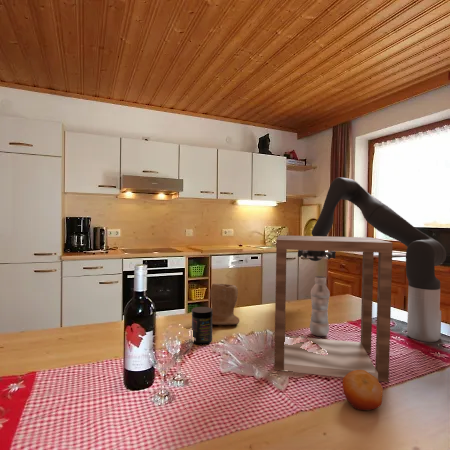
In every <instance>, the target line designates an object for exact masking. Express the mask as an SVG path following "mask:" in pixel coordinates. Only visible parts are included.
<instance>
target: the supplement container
mask: <svg viewBox="0 0 450 450" xmlns="http://www.w3.org/2000/svg"><path fill="white" fill-rule="evenodd" d="M212 320H213V309H212V307H210V306H209V307H208V306H196V307H193V308H192V309H191V331H192V330H193V337H194V343H193V344H194V345H196V346H206V345H210V344H211V343H212V342H213V325H212Z"/></svg>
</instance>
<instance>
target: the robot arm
mask: <svg viewBox="0 0 450 450" xmlns="http://www.w3.org/2000/svg"><path fill="white" fill-rule="evenodd" d="M341 200H345V201H348V202H350V203H351V204H353V205H354V206H356V207H357V209H359V210H360V211H361V212H360V213H361V214H362V216H363V218H364V220H366V222H367V223H368V224H369V225H370V226H371V227H373V228H374V229H375V230H376V231H377V232H380V233H382V234H383V235H385V236H387V237H388V238H392V239H394V240H396V241H398V242H400V243H402V244H403V245H405V246H406V247H407V248H406V253H405V274H406V275H405V276H406V278H407V281H408V286H407V287H408V290H407V291H408V292H407V293H408V295H407V296H408V297H407V324H406V325H407V326H406V335H407V336H408V337H410V338H411V339H415V340H417V341H421V342H426V343H427V342H428V343H431V342H433V343H435V342H438V341H439V340H440V339H441V337H442V332H441V331H442V310H441V307H440V306H441V281H440V279H438V278H437V277H436V272H435V267H436V266H439V265H441V264H443V263H444V262H445V261H446V258H447V251H446V249H445V246H443V244H442V243H441V242H440V241H438V240H437V239H434V238H433V237H431V236H430V235H428V234H426V233H424V232H422V231H421V230H419V229H418V228H416V227H415V226H413V224H411V223H410V222H409V221H407V220H406V219H405V218H403V217H402V216H401V215H400V214H398V213H397V212H396V211H394V210H393V209H392V208H391V207H390V206H388V205H387V204H385V203H383V202H382V201H381V200H379V199H378V198H377V197H375V196H373V195H372V194H370V193H369V192H368V191H367V190H366V189H365V188H364V187H362V186H361V185H360V183H359V182H357V181H356V180H354V179H352V178H347V177H336V178H335V179H333V181H331V183H330V186H329V188H328V190H327V194H326V197H325V200H324V203H323V206H322V209H321V211H320V214H319V216H318V219H317V220H316V222H315V225H313V228H312V230H311V236H327V237H328V235H329V233H330V232H331V229H332V227H333V225H334V219H335V210H336V208H337V206H338V204H339V202H340V201H341ZM336 252H337V251H315V250H297V257H298V258H300V257H302V258H304V259H309V261H312V262H318V261H321V260H322V259H323V260H324V259H327V260H331V259H336V255H337V253H336Z"/></svg>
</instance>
